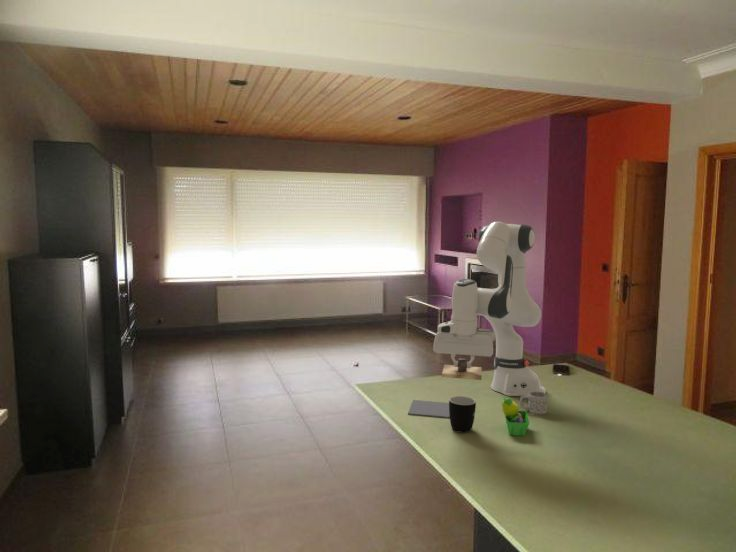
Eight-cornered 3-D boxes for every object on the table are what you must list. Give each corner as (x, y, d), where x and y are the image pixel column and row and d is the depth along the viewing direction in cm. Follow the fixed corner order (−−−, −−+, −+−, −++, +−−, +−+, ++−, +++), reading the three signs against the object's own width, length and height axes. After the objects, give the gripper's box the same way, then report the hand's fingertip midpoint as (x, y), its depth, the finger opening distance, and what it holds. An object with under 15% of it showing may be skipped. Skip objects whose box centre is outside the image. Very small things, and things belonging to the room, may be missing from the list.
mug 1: (476, 434, 175) (477, 405, 174) (449, 433, 176) (450, 404, 174) (470, 421, 187) (472, 393, 186) (445, 420, 187) (446, 392, 186)
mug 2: (544, 408, 201) (545, 391, 200) (548, 415, 195) (549, 397, 194) (517, 407, 202) (518, 390, 201) (520, 413, 196) (521, 396, 195)
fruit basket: (529, 438, 173) (530, 405, 172) (501, 435, 175) (503, 402, 174) (526, 425, 184) (527, 394, 183) (500, 423, 186) (501, 392, 185)
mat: (451, 404, 204) (451, 403, 204) (449, 418, 190) (449, 416, 190) (413, 401, 207) (413, 399, 207) (407, 414, 193) (407, 413, 193)
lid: (481, 369, 184) (482, 356, 184) (481, 380, 172) (482, 365, 171) (444, 366, 187) (444, 353, 187) (441, 376, 175) (442, 362, 174)
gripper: (494, 327, 179) (493, 366, 180) (434, 323, 183) (433, 362, 185) (495, 330, 173) (493, 371, 174) (433, 327, 177) (432, 367, 178)
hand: (462, 367), depth 179 cm, fingers closed on lid, 3 cm apart
